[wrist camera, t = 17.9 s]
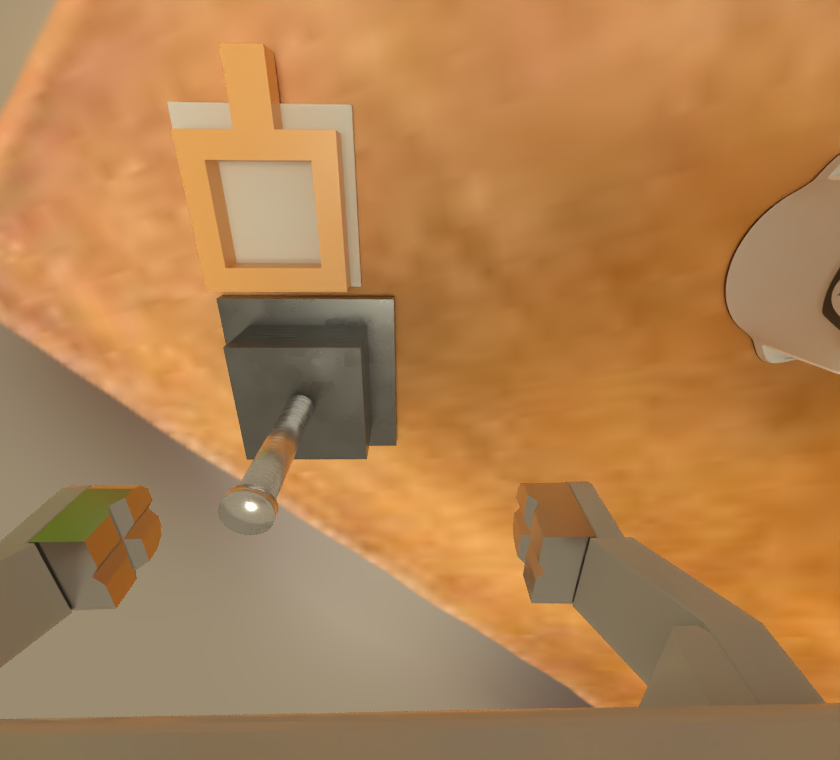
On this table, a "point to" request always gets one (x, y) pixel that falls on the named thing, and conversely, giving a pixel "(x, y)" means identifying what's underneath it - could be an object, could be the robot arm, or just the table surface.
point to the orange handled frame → (261, 142)
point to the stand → (305, 388)
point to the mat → (279, 187)
